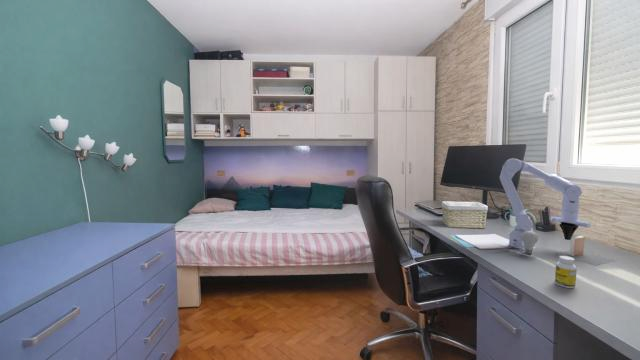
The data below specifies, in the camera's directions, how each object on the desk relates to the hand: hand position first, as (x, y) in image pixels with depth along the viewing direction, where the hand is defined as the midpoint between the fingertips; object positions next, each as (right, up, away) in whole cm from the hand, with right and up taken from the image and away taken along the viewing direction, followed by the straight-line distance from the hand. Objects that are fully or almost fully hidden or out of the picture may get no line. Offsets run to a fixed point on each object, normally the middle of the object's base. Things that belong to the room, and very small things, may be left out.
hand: (567, 239), depth 129 cm
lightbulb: (-19, -7, -1) cm, 20 cm away
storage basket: (-22, -2, +52) cm, 57 cm away
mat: (+2, -7, -6) cm, 10 cm away
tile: (+1, -6, -3) cm, 7 cm away
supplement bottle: (-29, -9, -32) cm, 44 cm away
